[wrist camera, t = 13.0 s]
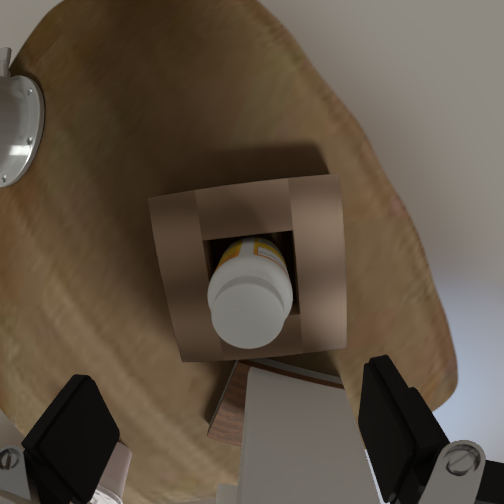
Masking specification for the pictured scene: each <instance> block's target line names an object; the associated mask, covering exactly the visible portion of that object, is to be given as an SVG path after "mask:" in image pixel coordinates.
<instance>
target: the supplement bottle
mask: <svg viewBox="0 0 504 504" xmlns="http://www.w3.org/2000/svg"><path fill="white" fill-rule="evenodd" d="M207 296H208V304H209V308H210V310H211V319H212V324H213V326H214V329H215V330H216V332H217V334H218V335H219V336H220V337H221V338H222V339H223V340H224V341H226V342H227V343H229V344H231V345H233V346H235V347H239V348H244V349H253V348H258V347H262V346H264V345H267V344H268V343H270V342H271V341H273V340H274V339H275V338H276V337H277V336H278V334H279V333H280V331H281V330H282V327H283V324H284V321H285V319H286V318H287V316H288V315H289V312H290V310H291V306H292V301H293V293H292V286H291V283H290V279H289V275H288V271H287V267H286V263H285V260H284V257H283V255H282V253H281V251H280V250H279V249H278V248H277V246H276V245H275V244H273V243H272V242H271V241H269V240H267V239H265V238H261V237H256V236H250V237H244V238H241V239H239V240H237V241H235V242H234V243H232V244H231V245H230V246H229V247H228V248H227V249H226V251H225V252H224V254H223V256H222V258H221V260H220V262H219V264H218V266H217V268H216V270H215V272H214V274H213V276H212V278H211V281H210V283H209V287H208V294H207Z"/></svg>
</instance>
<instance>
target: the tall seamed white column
mask: <svg viewBox="0 0 504 504" xmlns="http://www.w3.org/2000/svg"><path fill="white" fill-rule="evenodd" d="M207 438H211V439H214V440H218V441H222V442H225V443H229V444H233V445H237V446H241V447H242V448H241V459H240V470H239V481H238V486H234V485H228V484H218V486H217V493H216V500H215V504H380V500H379V497H378V493H377V490H376V487H375V483H374V480H373V476H372V473H371V470H370V467H369V463H368V460H367V457H366V453H365V450H364V447H363V444H362V441H361V438H360V434H359V431H358V428H357V425H356V422H355V419H354V416H353V413H352V410H351V407H350V404H349V401H348V398H347V395H346V392H345V389H344V386H343V383H342V380H341V377H336V376H332V375H328V374H323V373H319V372H315V371H311V370H307V369H303V368H300V367H296V366H292V365H288V364H285V363H281V362H278V361H274V360H270V359H267V358H255V359H242V360H236V362H235V365H234V367H233V369H232V372H231V374H230V377H229V379H228V382H227V384H226V386H225V389H224V391H223V394H222V396H221V398H220V401H219V403H218V406H217V408H216V410H215V413H214V415H213V417H212V420H211V422H210V424H209V429H208V433H207Z"/></svg>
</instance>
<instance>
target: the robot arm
mask: <svg viewBox="0 0 504 504" xmlns="http://www.w3.org/2000/svg"><path fill="white" fill-rule="evenodd" d="M10 57H11V49H10V48H1V49H0V187H6V186H9V185H12V184H13V183H15V182H16V181H18V180H19V179H20V178H21V177H22V176H23V175H24V173H25V172H26V171H27V169H28V168H29V166H30V164H31V162H32V161H33V159H34V157H35V154H36V152H37V149H38V147H39V143H40V139H41V136H42V131H43V125H44V112H45V111H44V100H43V96H42V92H41V90H40V88H39V86H38V85H37V84H36V82H35V81H34V80H32V79H30V78H28V77H24V76H14V77H11V72H10V71H8V67H9V63H10ZM10 77H11V78H10ZM358 425H359V429H360V432H361V435H362V438H363V441H364V443H365V446H366V449H367V452H368V455H369V458H370V461H371V464H372V467H373V470H374V473H375V476H376V479H377V482H378V485H379V488H380V492H381V495H382V498H383V501H384V502H385V503H388V502H390V504H504V463H500V462H495V461H489V460H485V458H486V457H485V454H484V451H483V449H482V448H481V447H480V446H479V445H478V444H476V443H475V442H472V441H468V440H459V441H454V442H452V443H450V442H449V440H448V438H447V437H446V435H445V433H444V432H443V430H442V428H441V427H440V425H439V423H438V422H437V420H436V418H435V417H434V415H433V414H432V412H431V410H430V409H429V407H428V406H427V404H426V403H425V401H424V399H423V398H422V396H421V395H420V393H419V392H418V390H417V389H416V388H414V387H411V388H408V386H407V384H406V383H405V381H404V380H403V378H402V376H401V375H400V373H399V372H398V370H397V368H396V367H395V365H394V364H393V362H392V361H391V359H390V358H389V356H388V355H382V356H378V357H373V358H370V360H369V363H365V364H364V371H363V382H362V392H361V401H360V409H359V417H358ZM119 437H120V432H119V429H118V427H117V425H116V423H115V421H114V419H113V418H112V416H111V414H110V412H109V410H108V408H107V406H106V404H105V402H104V400H103V398H102V396H101V394H100V392H99V389H98V387H97V385H96V383H95V381H94V380H92V379H91V377H90V376H88V375H79V374H75V375H73V376H72V377H71V379H70V380H69V381H68V382H67V384H66V385H65V386H64V387H63V389H62V390H61V391H60V393H59V394H58V395H57V396H56V398H55V399H54V400H53V402H52V403H51V404H50V405H49V407H48V408H47V409H46V411H45V412H44V413H43V415H42V416H41V417H40V418H39V420H38V421H37V422H36V424H35V425H34V426H33V428H32V429H31V431H30V432H29V433H28V435H27V436H26V437H25V439H24V440H23V441H22V443H21V444H22V446H23V447H24V448H25V450H24V452H23V451H22V450H21V449H20V448H19V447H17V446H14V445H10V446H6V447H3V448H2V449H0V504H69V503H70V501H71V502H72V503H73V504H87V502H89V501H91V499H92V497H93V495H94V493H95V490H96V488H97V486H98V484H99V481H100V479H101V477H102V475H103V472H104V470H105V468H106V466H107V463H108V461H109V459H110V457H111V455H112V453H113V450H114V448H115V446H116V444H117V442H118V440H119Z"/></svg>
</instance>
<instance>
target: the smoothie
mask: <svg viewBox="0 0 504 504" xmlns="http://www.w3.org/2000/svg"><path fill="white" fill-rule="evenodd" d="M131 457H132V452H131V450H130V449H129V448H128V447H126V446H125V445H123V444H121V443H119V442H117V444H116V446H115V448H114V450H113V453H112V455H111V457H110V459H109V461H108V463H107V466H106V468H105V470H104V472H103V475H102V477H101V479H100V481H99V484H98V486H97V488H96V490H95V493H94V495H93V497H92V499H91V501H90V502H92V503H93V504H123V502H122V500H121V499H122V494H123V490H124V486H125V481H126V477H127V473H128V469H129V465H130V461H131Z"/></svg>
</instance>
